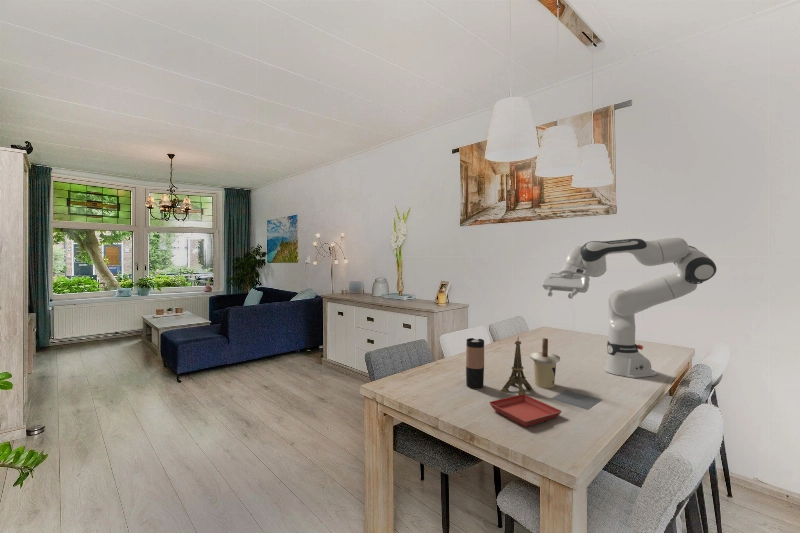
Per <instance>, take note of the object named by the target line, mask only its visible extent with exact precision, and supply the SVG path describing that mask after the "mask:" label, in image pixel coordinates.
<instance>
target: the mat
mask: <svg viewBox="0 0 800 533" xmlns="http://www.w3.org/2000/svg"><path fill="white" fill-rule="evenodd" d="M550 399H551V400H555V401H557V402H561V403H563V404H568V405H571V406H575V407H577V408H581V409H584V410H586V411H587V410H590V409H592V407H594V406H595V405H597V404H598V403H600V402H601V401H602V400H603V399H602V398H598V397H595V396H591V395H588V394H584V393H580V392H576V391H573V390H570V389H565V390H564V391H562V392H560V393H558V394H556V395H554V396H552V397H551V398H550Z"/></svg>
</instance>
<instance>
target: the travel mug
mask: <svg viewBox="0 0 800 533" xmlns="http://www.w3.org/2000/svg"><path fill="white" fill-rule="evenodd" d="M465 346H466V349H465V351H466V352H465V353H466V354H465V355H466V356H465V378H466V379H465V381H466V382H465V383H466V385H465V386H466V387H467V388H469V389H473V390H480V389H483V387H484V377H485V339H482V338H478V339H476V338H474V337H469V338H467V339H466V344H465Z"/></svg>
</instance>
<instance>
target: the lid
mask: <svg viewBox="0 0 800 533" xmlns="http://www.w3.org/2000/svg"><path fill="white" fill-rule="evenodd" d="M541 345H542V346H541V349H542V350H541V351H542V352H532V353H530V354H529V358H530V359H531V360H532V361H534V360H535V361H539V362H546V363H554V362H557V363H559V362H560V361H561V357H560V356H559V355H558V354H554V353H550V352H549V339H548V338H546V337H545V338H542V344H541Z"/></svg>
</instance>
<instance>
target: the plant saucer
mask: <svg viewBox="0 0 800 533" xmlns="http://www.w3.org/2000/svg"><path fill="white" fill-rule="evenodd" d="M488 403H489V405H490V406H491V408H493V410H494V411H495V412H497V413H498V414H500V415H502V416H504V417H506V418H508V419H510V420H511V421H513V422H516V423H517V424H519V425H521V426H523V427H525V428H526V427H530V426H533V425H534V426H535V425H536V424H540V423H543V422H546V421H548V420H552V419H555V418H557V417H558V416H560V414H561V413H562V412H563V411H562V410H561V409H558V408H557V407H554V406H551V405H550V404H548V403H544V402H542V401H540V400H538V399H535V398H533V397H531V396H529V395H527V394H526V395H524V394H521V395H513V396H508V397H505V398H500V399H495V400H492V401H489V402H488Z"/></svg>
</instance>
